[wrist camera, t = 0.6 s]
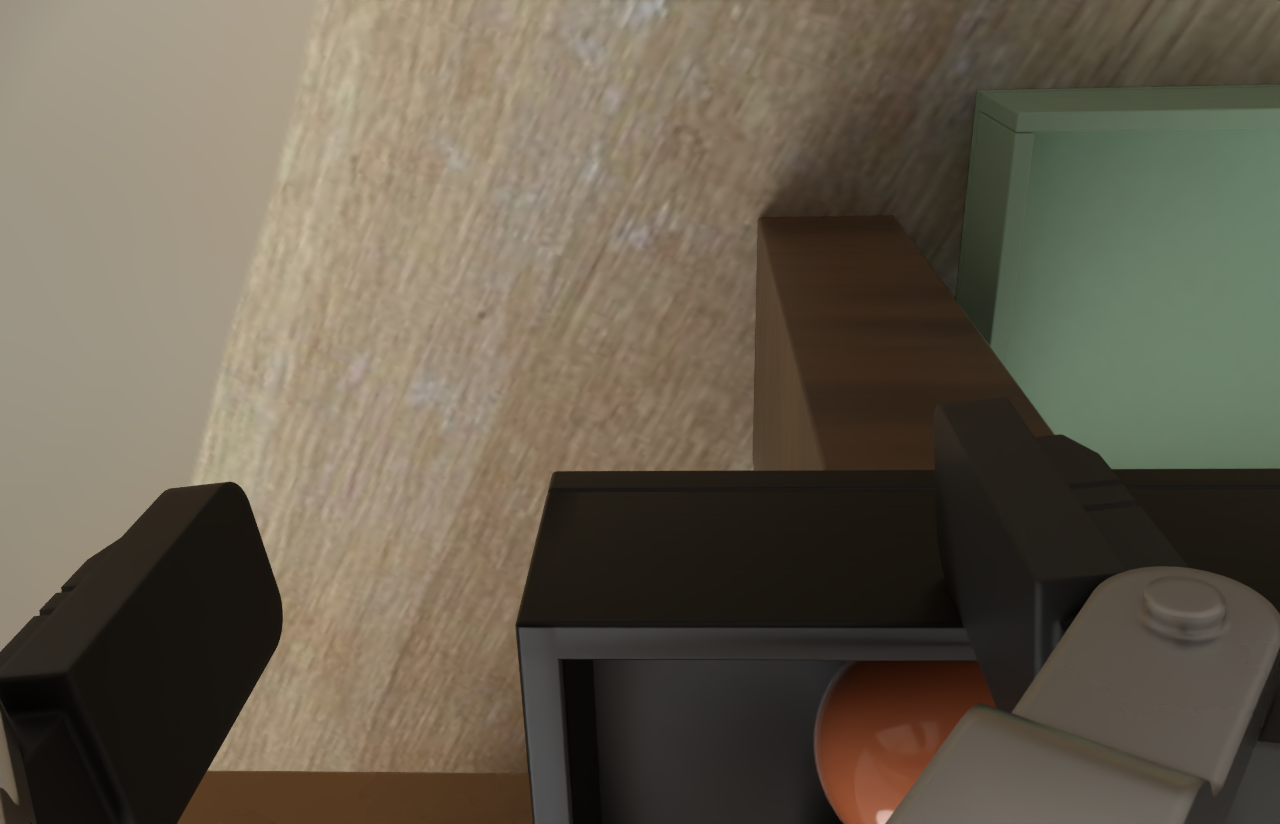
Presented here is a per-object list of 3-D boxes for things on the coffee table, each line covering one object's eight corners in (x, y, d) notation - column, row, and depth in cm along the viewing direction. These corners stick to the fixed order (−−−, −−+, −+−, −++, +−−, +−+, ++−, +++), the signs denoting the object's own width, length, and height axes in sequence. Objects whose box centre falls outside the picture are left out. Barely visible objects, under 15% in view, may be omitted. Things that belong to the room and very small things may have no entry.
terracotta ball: (806, 584, 15) (834, 735, 12) (1027, 584, 14) (1108, 737, 12) (798, 754, 16) (822, 927, 13) (1002, 756, 16) (1069, 930, 13)
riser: (757, 216, 31) (838, 527, 15) (894, 214, 31) (1126, 527, 15) (752, 458, 35) (813, 928, 18) (876, 458, 34) (1049, 932, 18)
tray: (976, 89, 30) (1017, 112, 26) (1610, 77, 29) (1744, 98, 25) (929, 550, 36) (957, 621, 32) (1449, 550, 35) (1538, 622, 31)
